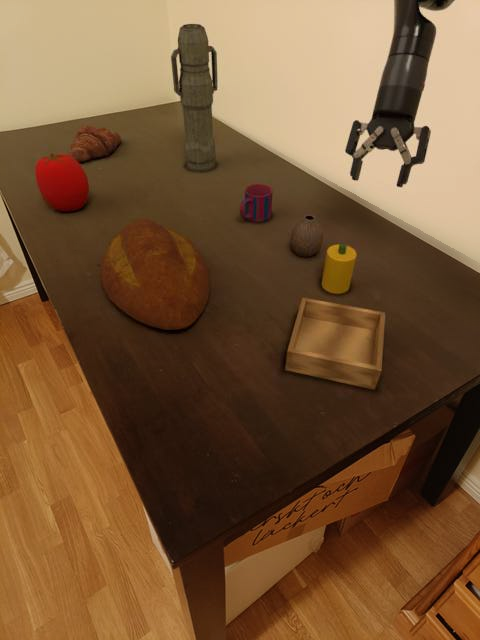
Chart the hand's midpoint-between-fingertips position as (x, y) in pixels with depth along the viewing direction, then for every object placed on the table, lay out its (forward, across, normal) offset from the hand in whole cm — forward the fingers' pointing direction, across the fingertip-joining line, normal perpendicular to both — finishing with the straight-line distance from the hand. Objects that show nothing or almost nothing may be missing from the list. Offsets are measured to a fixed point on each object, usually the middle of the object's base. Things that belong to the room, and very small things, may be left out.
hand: (376, 183), depth 81 cm
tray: (+29, +4, -15) cm, 33 cm away
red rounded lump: (+17, -73, -11) cm, 76 cm away
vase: (+16, -13, +5) cm, 22 cm away
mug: (+12, -31, +10) cm, 34 cm away
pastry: (+2, -93, +14) cm, 94 cm away
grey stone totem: (+1, -60, +24) cm, 64 cm away
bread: (+27, -34, -19) cm, 47 cm away
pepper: (+21, -3, -1) cm, 21 cm away
